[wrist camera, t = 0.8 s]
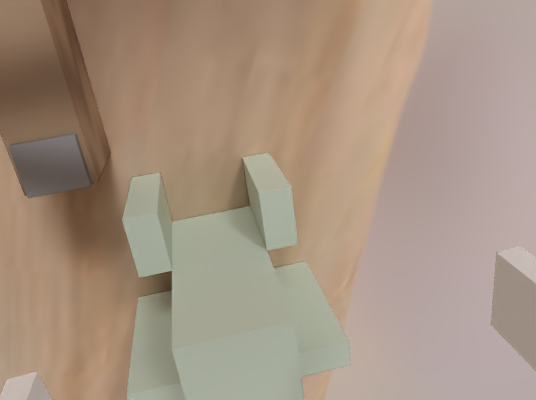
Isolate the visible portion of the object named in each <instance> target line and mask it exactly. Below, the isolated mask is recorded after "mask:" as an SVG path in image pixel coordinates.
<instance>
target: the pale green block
mask: <svg viewBox="0 0 536 400" xmlns="http://www.w3.org/2000/svg"><path fill="white" fill-rule="evenodd" d="M242 159H243V165H244V171H245V178H246V184H247V191H248V197H249V203H250V206H248V207H243V208H238V209H233V210H228V211H222V212H217V213H212V214H207V215H202V216H197V217H192V218H187V219H182V220H177V221H172V219H171V215H170V211H169V206H168V202H167V198H166V194H165V190H164V186H163V182H162V177H161V173H160V172H159V173H154V174H148V175H143V176H137V177H132V180H131V184H130V188H129V192H128V197H127V201H126V205H125V209H124V213H123V218H122V221H123V225H124V228H125V232H126V235H127V238H128V242H129V245H130V249H131V252H132V255H133V259H134V262H135V266H136V269H137V272H138V276H139V278H140V277H145V276H150V275H155V274H159V273H164V272H169V271H172V290H170V291H165V292H161V293H156V294H151V295H147V296H142V297H138V302H137V310H136V319H135V327H134V335H133V344H132V352H131V360H130V369H129V377H128V385H127V394H126V396H127V399H128V400H304V394H303V386H302V378H301V377H304V376H308V375H312V374H316V373H320V372H324V371H328V370H332V369H336V368H340V367H344V366H348V365H350V349H349V341H348V339H347V337H346V335H345V333H344V331H343V329H342V327H341V325H340V323H339V321H338V320H337V318H336V316H335V314H334V312H333V310H332V308H331V306H330V304H329V302H328V301H327V299H326V297H325V295H324V293H323V291H322V289H321V287H320V285H319V283H318V282H317V280H316V278H315V276H314V274H313V272H312V270H311V268H310V266H309V264H308V263H307V261H304V262H299V263H295V264H290V265H286V266H281V267H276V268H274V267H273V264H272V262H271V259H270V257H269V254H268V252H267V251H268V250H273V249H278V248H283V247H287V246H292V245H297V244H298V241H297V232H296V223H295V214H294V205H293V196H292V187H291V185H290V184H289V182H288V181H287V179H286V178H285V176H284V175H283V173H282V172H281V170H280V169H279V167H278V166H277V164H276V163H275V161H274V160H273V158H272V157H271V155H270V154H269V153H263V154H258V155H252V156H247V157H242Z"/></svg>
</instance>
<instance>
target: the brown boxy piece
mask: <svg viewBox="0 0 536 400" xmlns="http://www.w3.org/2000/svg"><path fill="white" fill-rule="evenodd" d="M0 133H1V136H2V138H3V141H4V144H5V146H6V149H7V151H8V154H9V156H10V159H11V161H12V164H13V166H14V169H15V172H16V174H17V177H18V179H19V182H20V184H21V187H22V189H23V192H24V194H25V196H27V197H28V198H32V197H37V196H43V195H48V194H53V193H59V192H64V191H69V190H75V189H80V188H85V187H91V185H92V183H97V182H98V180H99V178H100V176H101V173H102V171H103V169H104V166H105V164H106V162H107V160H108V157H109V155H110V153H111V152H110V148H109V145H108V141H107V138H106V135H105V131H104V128H103V124H102V121H101V118H100V114H99V111H98V107H97V104H96V100H95V97H94V94H93V90H92V87H91V83H90V80H89V76H88V73H87V70H86V66H85V63H84V59H83V56H82V52H81V49H80V46H79V42H78V39H77V35H76V32H75V28H74V25H73V22H72V18H71V15H70V11H69V8H68V4H67V1H66V0H0Z"/></svg>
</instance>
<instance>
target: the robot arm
mask: <svg viewBox="0 0 536 400" xmlns="http://www.w3.org/2000/svg"><path fill="white" fill-rule="evenodd" d="M491 325H492V326H493V327H494V328H495V329H496V330H497V331H498V332H499V334H500V335H502V336H503V338H504V339H505V340H506V341H507V342H508V343H509V344H510V345H511V346H512V347H513V348H514V349H515V350H516V351H517V352H518V353H519V354H520V355H521V356H522V357H523V358H524V359H525V360H526V361H527V362H528V363H529V364H530V365H531V366H532V367H533V369H534V370H535V371H536V257H534V256H533V255H532V254H530V253H529V252H527V251H526V250H525V249H523V248H522V247H516V248H512V249H508V250H504V251H500V252H496V263H495V277H494V289H493V302H492V316H491ZM0 400H52V398H51V396H50V394H49V392H48V391H47V389H46V387H45V385H44V383H43V381H42V379H41V377H40V376H39V374H38V372H37V371H36V372H32V373H29V374H25V375H21V376H17V377H13V378H9V379H7V380H6V383H5V385H4V387H3V390H2V392H1V394H0Z"/></svg>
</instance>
